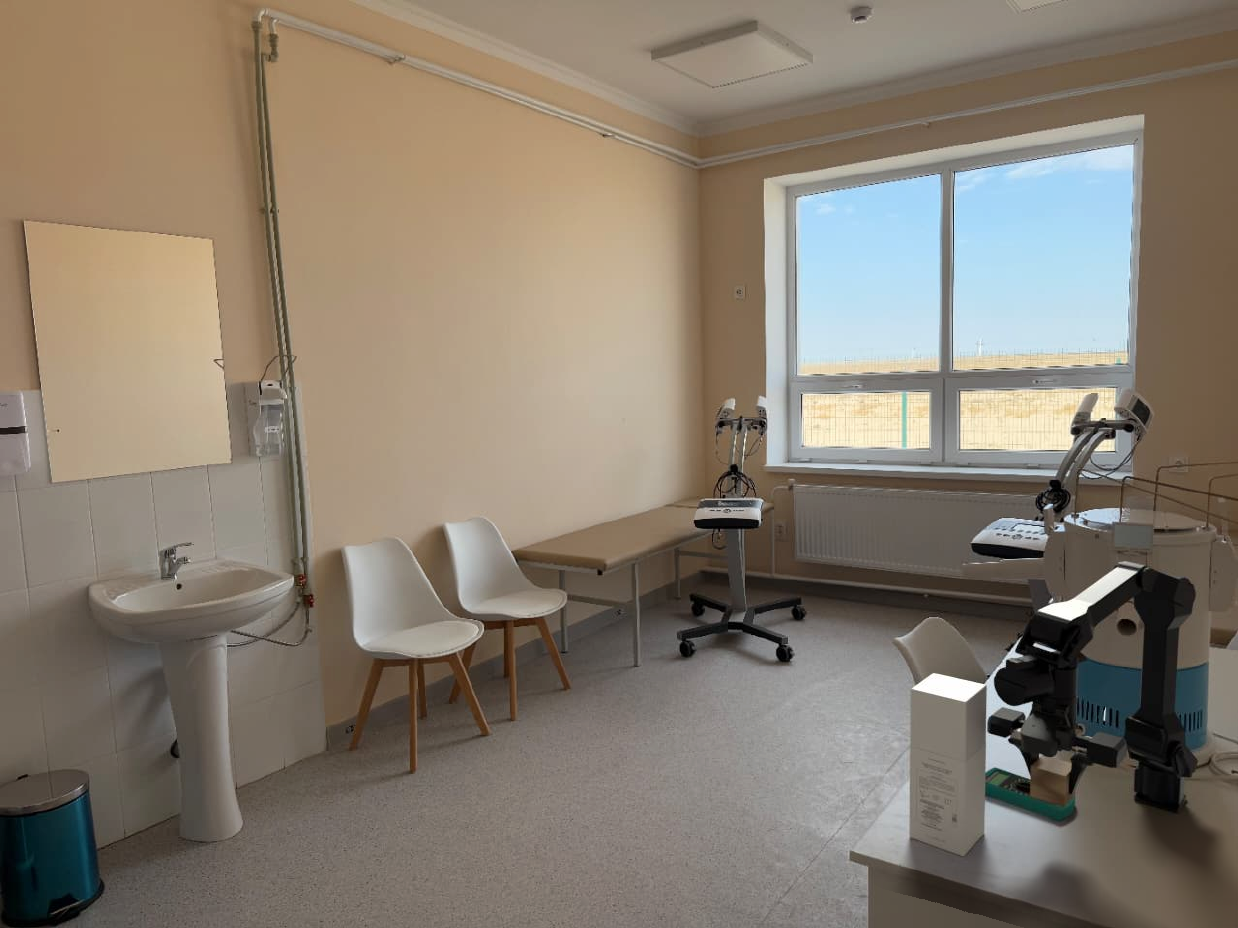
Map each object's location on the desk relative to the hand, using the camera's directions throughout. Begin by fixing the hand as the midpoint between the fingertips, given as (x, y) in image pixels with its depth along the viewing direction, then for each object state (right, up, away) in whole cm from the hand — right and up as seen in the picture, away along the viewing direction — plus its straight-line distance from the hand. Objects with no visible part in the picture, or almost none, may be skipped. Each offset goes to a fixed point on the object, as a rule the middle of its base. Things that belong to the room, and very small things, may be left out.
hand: (1053, 787), depth 134 cm
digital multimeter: (+2, -8, +15) cm, 17 cm away
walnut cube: (0, -1, 0) cm, 1 cm away
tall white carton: (-15, -9, +4) cm, 18 cm away
